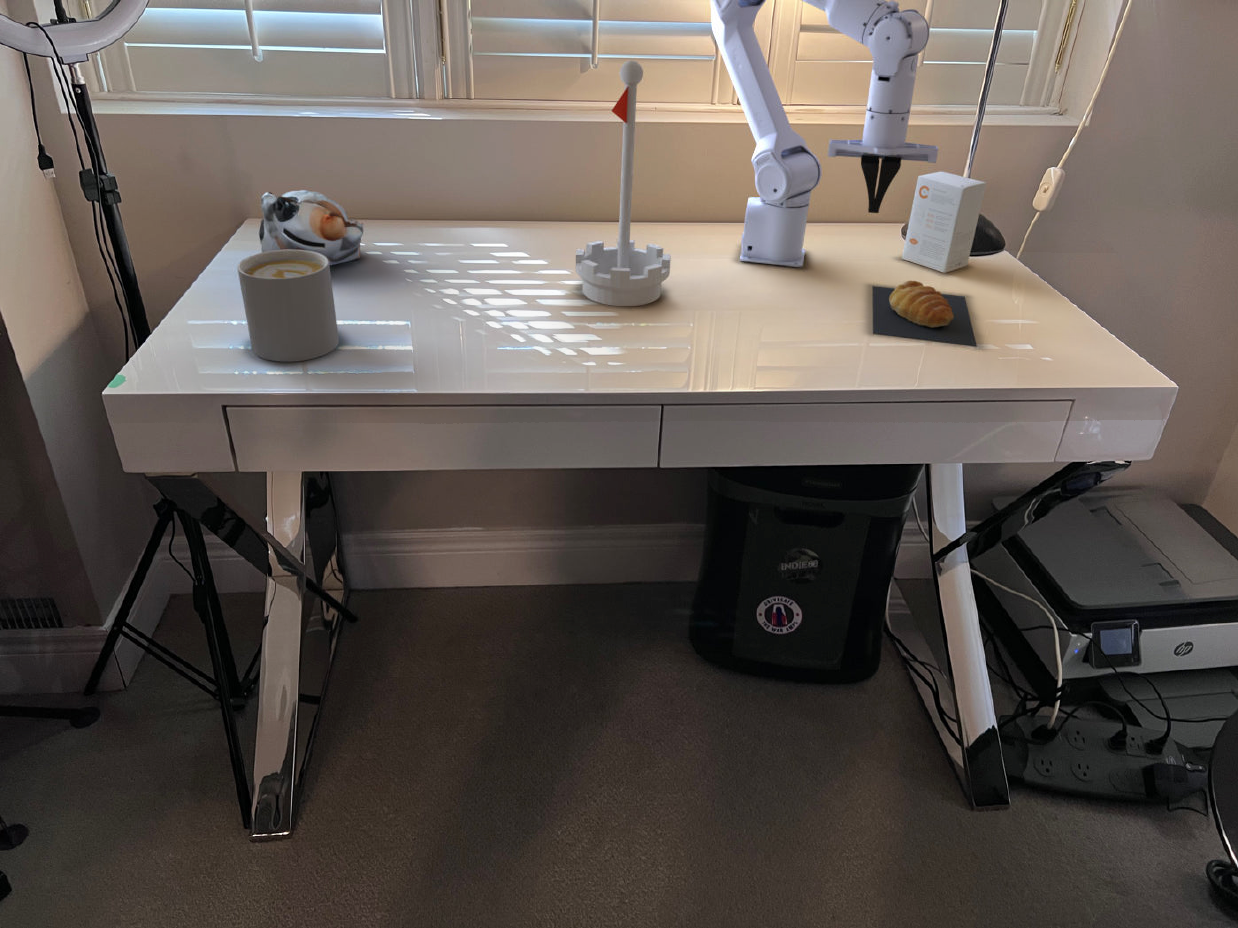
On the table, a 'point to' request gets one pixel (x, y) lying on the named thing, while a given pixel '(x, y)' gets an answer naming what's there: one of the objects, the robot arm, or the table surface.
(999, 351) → the table surface
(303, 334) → the coffee mug
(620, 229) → the flag stand
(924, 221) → the small box
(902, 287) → the pastry
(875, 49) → the robot arm
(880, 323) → the placemat
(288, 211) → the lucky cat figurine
